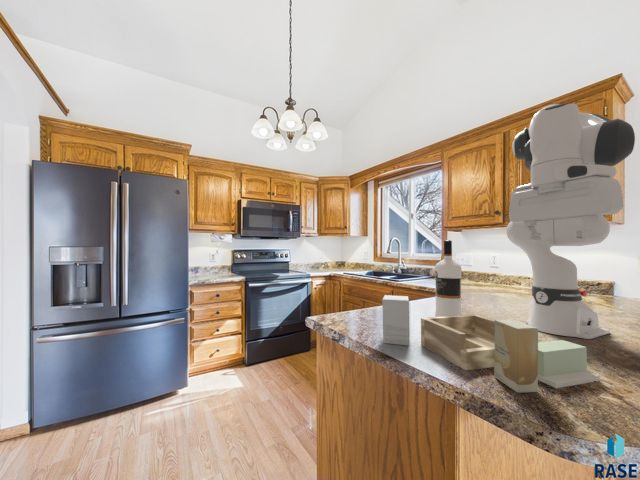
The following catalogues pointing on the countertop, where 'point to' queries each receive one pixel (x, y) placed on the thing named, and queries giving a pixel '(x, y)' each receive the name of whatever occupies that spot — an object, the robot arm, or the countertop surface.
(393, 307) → the supplement box
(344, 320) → the countertop surface
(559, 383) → the mat
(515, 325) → the skincare box
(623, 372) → the countertop surface
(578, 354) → the block
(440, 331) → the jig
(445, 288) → the vodka
